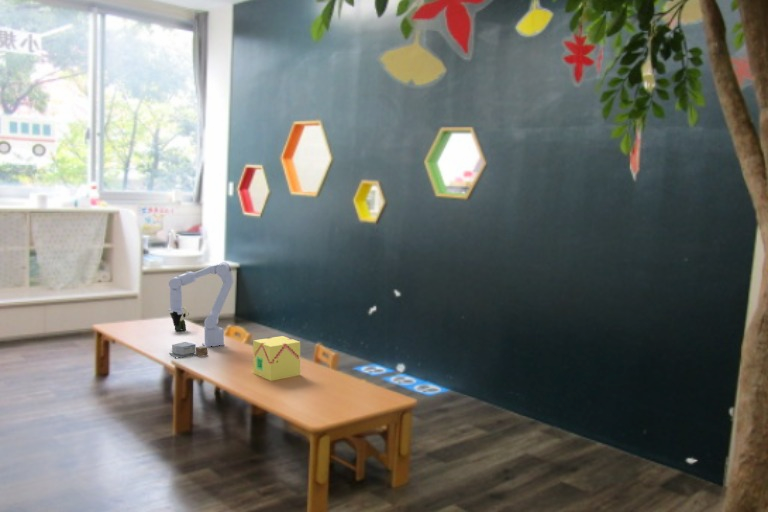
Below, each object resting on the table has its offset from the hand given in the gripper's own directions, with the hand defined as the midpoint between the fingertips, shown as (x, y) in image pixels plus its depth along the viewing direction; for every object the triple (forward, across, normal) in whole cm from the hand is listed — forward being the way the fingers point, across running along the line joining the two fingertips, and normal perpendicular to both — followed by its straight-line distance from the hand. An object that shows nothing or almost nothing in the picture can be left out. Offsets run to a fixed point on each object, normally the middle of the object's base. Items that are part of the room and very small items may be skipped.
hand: (176, 326), depth 337 cm
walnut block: (+10, +26, +5) cm, 28 cm away
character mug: (+11, -36, +12) cm, 39 cm away
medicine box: (+8, +15, -3) cm, 17 cm away
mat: (+10, +21, -4) cm, 24 cm away
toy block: (+11, +76, +23) cm, 80 cm away
